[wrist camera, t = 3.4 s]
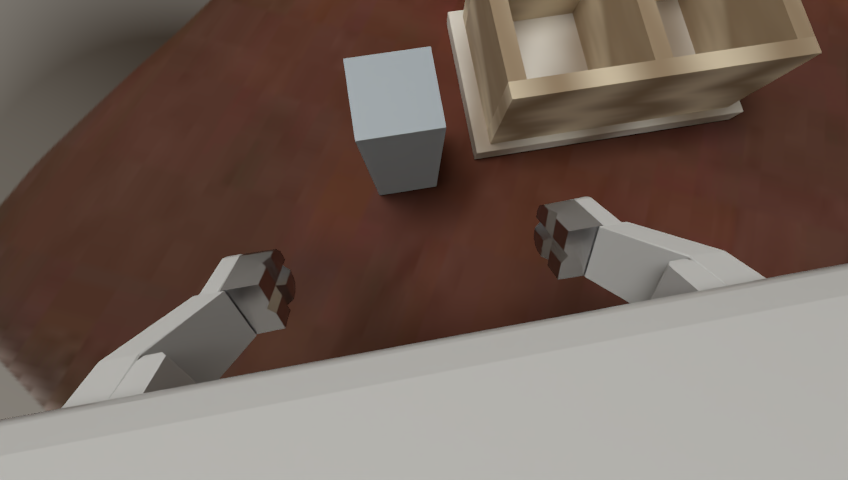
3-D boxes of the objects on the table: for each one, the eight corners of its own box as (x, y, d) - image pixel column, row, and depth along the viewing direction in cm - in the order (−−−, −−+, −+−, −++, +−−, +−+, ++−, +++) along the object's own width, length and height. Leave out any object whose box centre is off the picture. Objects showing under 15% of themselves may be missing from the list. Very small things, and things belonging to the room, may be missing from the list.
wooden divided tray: (685, -10, 24) (774, -109, 18) (728, 119, 22) (842, 58, 16) (446, 23, 23) (456, -68, 17) (474, 159, 21) (495, 111, 15)
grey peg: (426, 133, 22) (430, 46, 14) (436, 186, 21) (446, 127, 13) (371, 141, 22) (343, 58, 14) (379, 195, 21) (355, 141, 13)
